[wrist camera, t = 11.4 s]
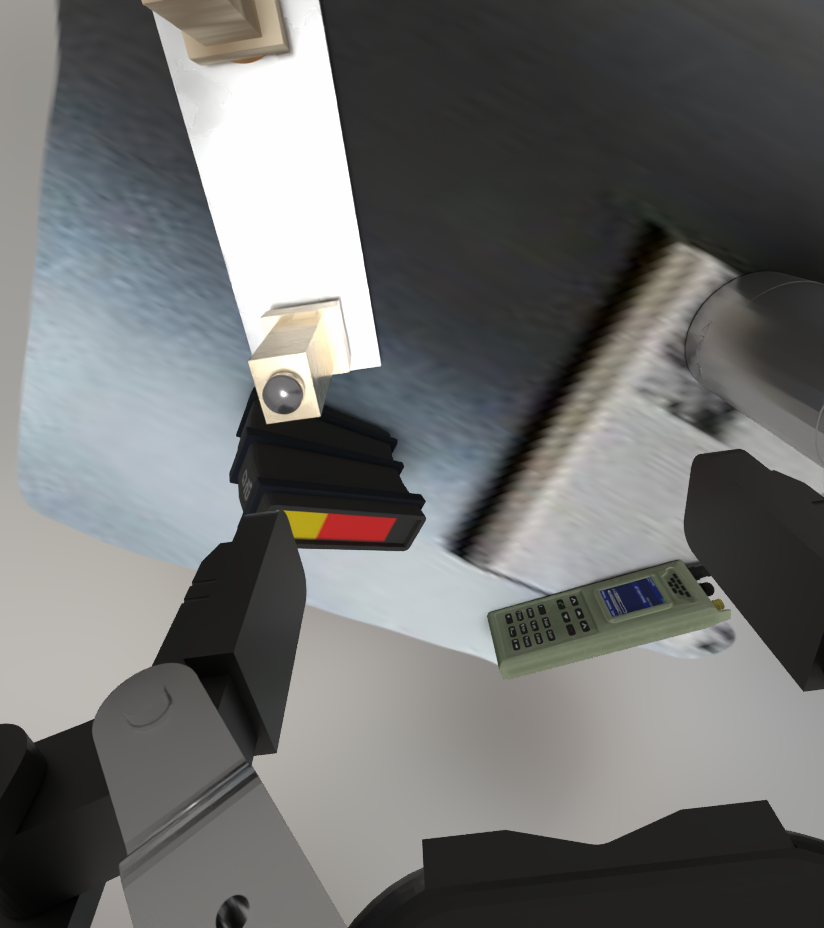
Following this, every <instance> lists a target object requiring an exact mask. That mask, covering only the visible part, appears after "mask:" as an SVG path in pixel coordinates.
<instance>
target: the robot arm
mask: <svg viewBox="0 0 824 928" xmlns="http://www.w3.org/2000/svg"><path fill="white" fill-rule="evenodd" d="M686 360H687V364H688V368H689V370H690V372H691V373H692V375H693V377H694V378H695V379H696V380H697V381H698V382H699V383H700V384H701V385H703V386H704V387H706V388H707V389H709V390H710V391H711V392H713V393H714V394H716V395H717V396H719V397H720V398H722V399H723V400H725V401H726V402H727V403H729V404H730V405H732V406H733V407H735V408H736V409H737V410H739V411H740V412H742V413H743V414H745V415H746V416H748V417H749V418H751V419H752V420H754V421H755V422H756V423H758V424H759V425H761V426H762V427H764V428H765V429H767V430H768V431H770V432H771V433H773V434H774V435H775V436H777V437H778V438H780V439H781V440H783V441H784V442H786V443H787V444H789V445H790V446H792V447H793V448H794V449H796V450H797V451H799V452H800V453H802V454H803V455H805V456H806V457H808V458H809V459H811V460H812V461H813V462H815V463H816V464H818V465H819V466H821V467H822V468H824V284H822V283H819V282H815V281H811V280H807V279H803V278H800V277H796V276H792V275H788V274H784V273H780V272H772V271H762V272H754V273H750V274H747V275H744V276H741V277H738V278H737V279H735V280H733V281H731V282H729V283H727V284H726V285H724V286H723V287H722V288H720V289H719V290H718V291H717V292H715V293H714V294H713V295H712V296H711V297H710V298H709V299H708V300H707V301H706V302H705V303H704V305H703V306H702V307H701V309H700V310H699V312H698V313H697V315H696V316H695V318H694V320H693V322H692V324H691V327H690V329H689V331H688V336H687V340H686ZM684 532H685V536H686V540H687V543H688V545H689V547H690V549H691V551H692V552H693V554H694V555H695V556H696V557H697V559H698V560H699V561H700V562H701V564H702V565H703V566H704V567H705V569H706V570H707V571H708V572H709V574H710V575H711V576H712V577H713V578H714V580H715V581H716V582H717V584H718V585H719V586H720V587H721V589H722V590H723V591H724V592H725V594H726V595H727V596H728V597H729V599H730V600H731V601H732V603H733V604H734V605H735V606H736V608H737V609H738V610H739V611H740V613H741V614H742V615H743V616H744V618H745V619H746V620H747V621H748V623H749V624H750V625H751V626H752V628H753V629H754V630H755V631H756V632H757V634H758V635H759V636H760V638H761V639H762V640H763V641H764V643H765V644H766V645H767V646H768V648H769V649H770V650H771V651H772V653H773V654H774V655H775V656H776V658H777V659H778V660H779V661H780V663H781V664H782V665H783V666H784V668H785V669H786V670H787V672H788V673H789V674H790V675H791V676H792V678H793V679H794V680H795V682H796V683H797V684H798V685H799V687H800V688H801V689H802V690H803V691H812V690H820V689H824V497H823V496H821V495H820V494H819V493H817V492H816V491H815V490H813V489H812V488H811V487H809V486H808V485H807V484H805V483H803V482H801V481H799V480H796V479H794V478H792V477H789V476H787V475H784V474H782V473H780V472H777V471H775V470H773V471H770V470H769V469H768V468H767V467H765V466H764V465H763V464H762V463H760V462H759V461H758V460H756V459H755V458H754V457H753V456H751V455H750V454H749V453H748V452H746V451H745V450H742V449H734V450H727V451H719V452H712V453H704V454H699V455H697V456H696V457H695V458H694V460H693V462H692V466H691V473H690V480H689V487H688V494H687V501H686V509H685V516H684ZM305 602H306V579H305V573H304V569H303V566H302V562H301V559H300V556H299V552H298V549H297V546H296V542H295V539H294V536H293V532H292V529H291V526H290V523H289V519H288V517H287V514H286V513H285V511H284V510H276V511H269V512H261V513H254V514H246V515H244V516H243V518H242V520H241V522H240V524H239V527H238V529H237V531H236V534H235V536H234V539H233V541H232V542H227V543H220V544H219V545H218V546H217V547H216V548H215V549H214V550H213V551H212V552H211V553H210V554H209V555H208V556H207V557H206V558H205V559H204V560H203V561H202V562H201V564H200V566H199V568H198V571H197V573H196V575H195V577H194V579H193V581H192V586H190V587H189V589H188V591H187V594H186V596H185V598H184V603H182V604H181V606H180V608H179V611H178V613H177V615H176V617H175V619H174V621H173V623H172V625H171V627H170V629H169V632H168V633H167V636H166V638H165V640H164V642H163V644H162V646H161V648H160V650H159V652H158V655H157V657H156V659H155V661H154V663H153V665H152V667H149V668H147V669H144V670H142V671H140V672H139V673H136V674H134V675H133V676H131V677H130V678H128V679H127V680H125V681H124V682H123V683H121V684H120V685H119V686H118V687H117V688H116V689H115V690H113V691H112V692H111V693H110V695H109V696H108V697H107V698H106V699H105V700H104V702H103V703H102V705H101V706H100V708H99V709H98V712H97V714H96V716H95V719H93V720H90V721H88V722H86V723H83V724H81V725H78V726H75V727H73V728H71V729H68V730H65V731H63V732H60V733H58V734H55V735H53V736H50V737H47V738H45V739H42V740H40V741H37V742H35V743H33V741H32V740H31V739H30V738H29V737H28V735H27V734H26V733H25V731H24V730H23V729H22V728H21V727H19V726H17V725H14V724H0V928H90V926H91V923H92V921H93V917H94V915H95V912H96V909H97V906H98V903H99V900H100V898H101V895H102V892H103V889H104V886H105V883H106V882H107V881H109V880H111V879H113V878H115V877H117V876H120V878H121V883H122V886H123V890H124V894H125V898H126V901H127V904H128V908H129V912H130V916H131V920H132V923H133V927H134V928H347V926H346V924H345V923H344V921H343V919H342V918H341V916H340V914H339V912H338V911H337V909H336V907H335V906H334V904H333V902H332V901H331V899H330V897H329V895H328V894H327V892H326V891H325V889H324V887H323V885H322V884H321V882H320V880H319V879H318V877H317V875H316V873H315V872H314V870H313V868H312V866H311V865H310V863H309V861H308V860H307V858H306V856H305V855H304V853H303V851H302V850H301V848H300V846H299V845H298V843H297V841H296V839H295V837H294V836H293V834H292V832H291V831H290V829H289V827H288V826H287V824H286V822H285V820H284V819H283V817H282V815H281V814H280V812H279V810H278V808H277V807H276V805H275V803H274V802H273V800H272V798H271V797H270V795H269V793H268V791H267V790H266V788H265V786H264V785H263V783H262V781H261V780H260V778H259V776H258V775H257V773H256V771H255V770H254V768H253V767H252V761H253V756H257V755H265V754H273V753H277V748H278V743H279V738H280V733H281V728H282V722H283V717H284V711H285V706H286V701H287V696H288V691H289V686H290V680H291V675H292V670H293V665H294V660H295V654H296V649H297V644H298V639H299V633H300V628H301V623H302V618H303V612H304V608H305ZM422 845H423V865H424V867H423V868H421V869H419V870H417V871H415V872H412V873H410V874H408V875H407V876H405V877H403V878H402V879H400V880H399V881H397V882H395V883H394V884H392V885H391V886H389V887H388V888H387V889H386V890H384V891H383V892H382V893H381V894H380V895H378V896H377V897H376V898H375V899H373V900H372V901H371V902H370V903H369V904H368V905H367V907H366V908H364V910H363V911H362V912H361V913H360V914H359V915H358V916H357V917H356V918H355V919H354V920H353V922H352V923H351V924H350V926H349V927H348V928H824V841H823V840H821V839H818V838H814V837H811V836H807V835H804V834H800V833H796V832H792V831H787V830H785V829H784V827H783V826H782V824H781V822H780V821H779V819H778V818H777V816H776V815H775V812H774V811H773V809H772V807H771V806H770V804H769V803H768V801H767V800H762V801H753V802H744V803H736V804H727V805H718V806H710V807H701V808H692V809H683V810H679V811H677V812H675V813H673V814H671V815H668V816H666V817H664V818H662V819H660V820H657V821H655V822H653V823H651V824H649V825H646V826H644V827H642V828H640V829H638V830H635V831H633V832H631V833H629V834H627V835H624V836H622V837H620V838H618V839H615V840H613V841H611V842H609V843H606V844H600V845H593V844H586V843H580V842H574V841H568V840H562V839H556V838H550V837H544V836H538V835H533V834H527V833H520V832H515V831H509V830H501V831H493V832H484V833H475V834H466V835H458V836H449V837H441V838H431V839H423V840H422Z"/></svg>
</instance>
